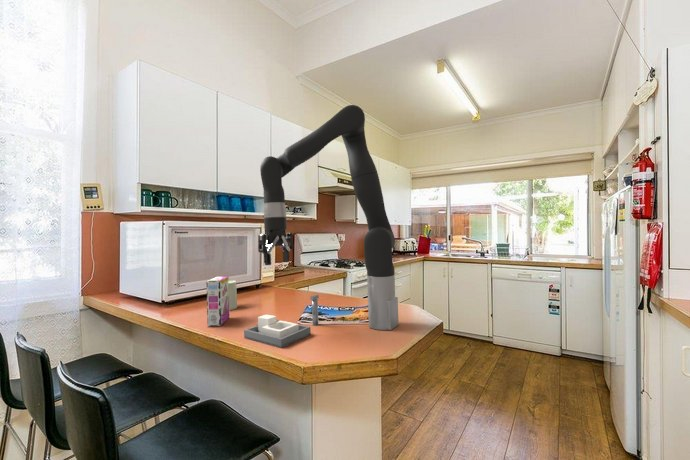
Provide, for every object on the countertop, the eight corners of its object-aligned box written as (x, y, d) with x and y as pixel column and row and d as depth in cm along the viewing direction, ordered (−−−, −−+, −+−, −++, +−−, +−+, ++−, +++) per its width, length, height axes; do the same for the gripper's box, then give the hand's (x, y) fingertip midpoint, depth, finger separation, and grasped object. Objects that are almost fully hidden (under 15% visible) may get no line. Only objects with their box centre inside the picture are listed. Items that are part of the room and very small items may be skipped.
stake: (320, 323, 111) (319, 295, 110) (315, 326, 108) (313, 296, 108) (316, 323, 112) (315, 294, 112) (310, 325, 109) (309, 296, 109)
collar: (298, 333, 99) (298, 317, 99) (280, 341, 93) (279, 324, 93) (271, 327, 106) (271, 312, 106) (252, 334, 100) (252, 318, 100)
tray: (310, 334, 100) (310, 326, 100) (281, 348, 89) (281, 339, 89) (274, 326, 109) (274, 319, 109) (244, 337, 99) (243, 330, 99)
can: (242, 306, 139) (241, 279, 139) (224, 312, 131) (223, 283, 131) (228, 304, 144) (227, 278, 144) (210, 309, 136) (209, 282, 136)
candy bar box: (221, 326, 112) (219, 280, 111) (207, 327, 111) (205, 281, 111) (230, 317, 123) (228, 275, 123) (217, 318, 122) (215, 276, 122)
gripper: (267, 215, 100) (269, 266, 100) (297, 215, 112) (299, 261, 112) (251, 217, 104) (253, 266, 104) (281, 217, 116) (284, 261, 116)
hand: (277, 263), depth 108 cm, fingers open, 8 cm apart
